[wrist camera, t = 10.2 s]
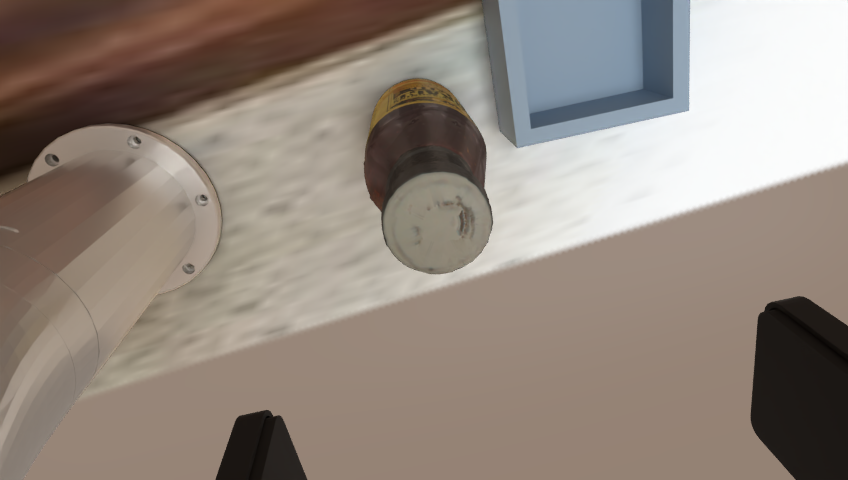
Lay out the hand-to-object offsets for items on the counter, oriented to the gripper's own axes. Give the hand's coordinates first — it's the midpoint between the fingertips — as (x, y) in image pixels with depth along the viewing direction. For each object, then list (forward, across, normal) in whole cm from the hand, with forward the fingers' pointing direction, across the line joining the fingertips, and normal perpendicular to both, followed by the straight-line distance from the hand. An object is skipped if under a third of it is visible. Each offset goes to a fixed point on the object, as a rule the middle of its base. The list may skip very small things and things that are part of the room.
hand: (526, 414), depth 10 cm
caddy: (+29, -11, -4) cm, 32 cm away
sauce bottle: (+30, 0, 0) cm, 30 cm away
